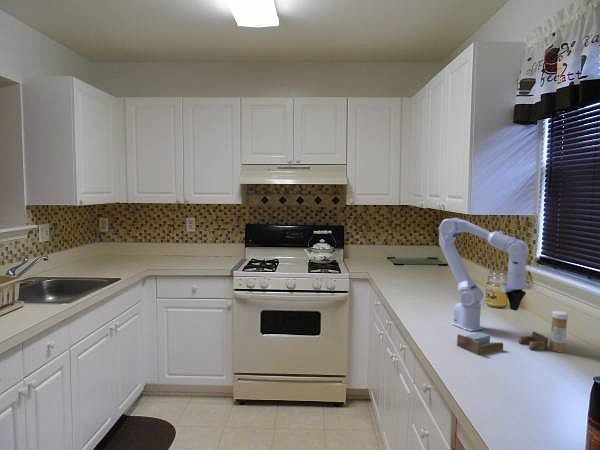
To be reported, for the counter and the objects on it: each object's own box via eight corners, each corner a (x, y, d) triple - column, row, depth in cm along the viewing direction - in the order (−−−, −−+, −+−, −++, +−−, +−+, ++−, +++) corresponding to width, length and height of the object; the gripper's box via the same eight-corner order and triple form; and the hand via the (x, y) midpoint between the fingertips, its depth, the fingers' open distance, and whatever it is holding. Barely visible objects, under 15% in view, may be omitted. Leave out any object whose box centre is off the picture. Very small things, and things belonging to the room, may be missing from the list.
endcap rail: (454, 344, 146) (454, 333, 145) (476, 339, 151) (477, 328, 151) (480, 356, 136) (481, 344, 136) (503, 350, 141) (504, 339, 141)
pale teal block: (465, 348, 143) (465, 335, 142) (480, 344, 147) (481, 332, 146) (473, 352, 140) (474, 339, 139) (489, 348, 144) (490, 335, 143)
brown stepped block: (530, 350, 142) (531, 338, 142) (518, 343, 149) (519, 332, 148) (547, 349, 143) (547, 338, 143) (534, 342, 150) (534, 331, 149)
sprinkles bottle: (551, 346, 146) (554, 309, 145) (566, 350, 143) (569, 312, 142) (547, 350, 143) (551, 311, 141) (563, 353, 140) (566, 314, 138)
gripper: (513, 277, 146) (511, 315, 147) (539, 273, 152) (536, 310, 153) (495, 273, 152) (493, 309, 153) (521, 270, 158) (519, 305, 160)
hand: (514, 309), depth 154 cm, fingers closed
